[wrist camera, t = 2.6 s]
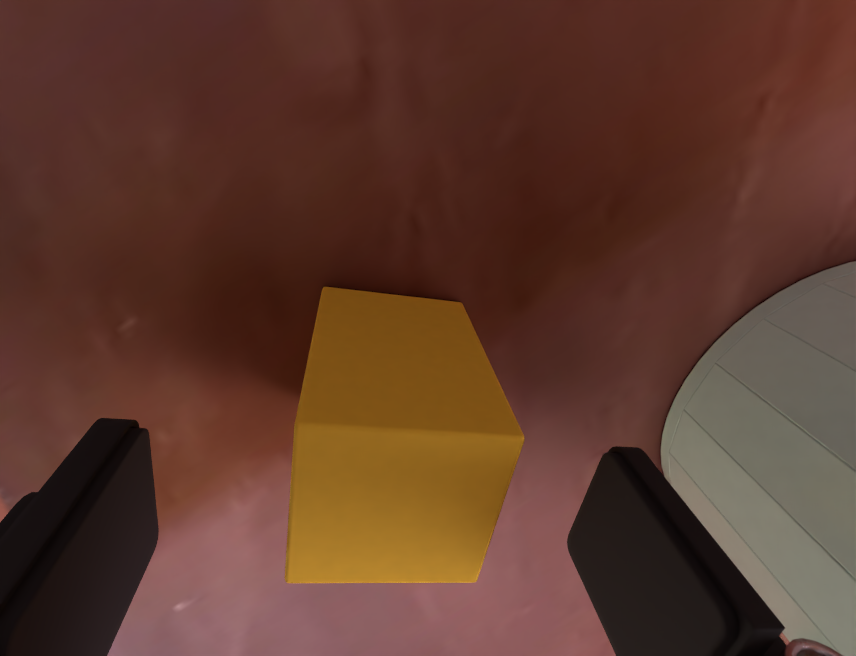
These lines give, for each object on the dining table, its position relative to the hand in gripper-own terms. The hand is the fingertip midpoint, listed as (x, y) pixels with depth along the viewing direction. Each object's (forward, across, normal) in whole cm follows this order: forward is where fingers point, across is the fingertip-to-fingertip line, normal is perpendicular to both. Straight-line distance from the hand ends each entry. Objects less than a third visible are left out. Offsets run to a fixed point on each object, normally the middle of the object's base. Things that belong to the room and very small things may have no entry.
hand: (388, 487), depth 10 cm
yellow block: (+5, 0, 0) cm, 5 cm away
